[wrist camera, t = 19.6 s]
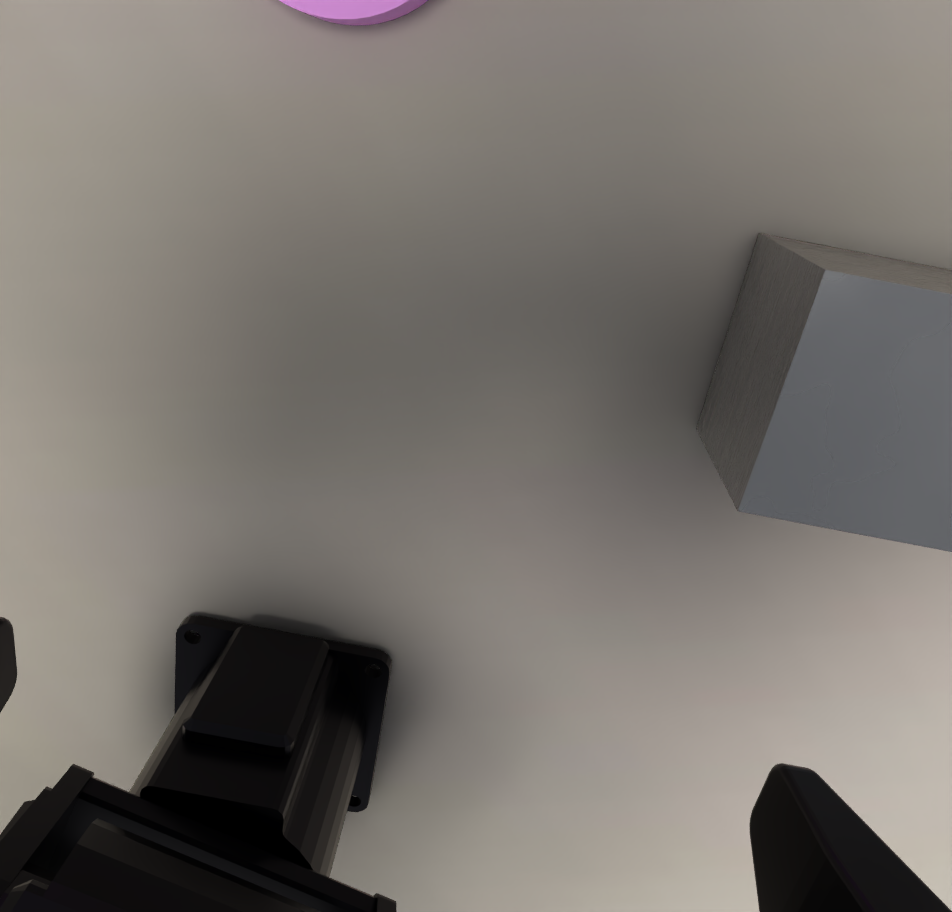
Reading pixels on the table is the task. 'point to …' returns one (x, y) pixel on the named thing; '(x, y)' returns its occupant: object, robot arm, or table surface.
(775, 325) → the block
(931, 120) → the table surface
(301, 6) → the bracket
